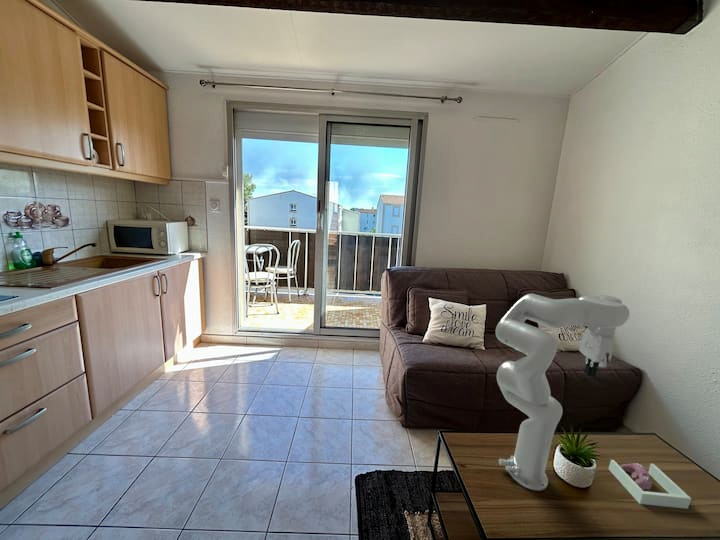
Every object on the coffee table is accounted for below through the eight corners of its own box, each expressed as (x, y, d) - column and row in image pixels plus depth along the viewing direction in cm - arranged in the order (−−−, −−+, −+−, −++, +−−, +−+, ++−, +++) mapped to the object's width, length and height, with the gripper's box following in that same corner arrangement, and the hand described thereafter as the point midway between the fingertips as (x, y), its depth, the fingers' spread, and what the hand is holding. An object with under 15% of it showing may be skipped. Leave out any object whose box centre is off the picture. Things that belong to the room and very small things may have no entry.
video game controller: (641, 498, 98) (658, 487, 96) (627, 487, 100) (644, 476, 97) (630, 475, 107) (646, 464, 104) (617, 465, 108) (633, 455, 106)
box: (639, 503, 95) (642, 493, 94) (608, 468, 107) (611, 459, 106) (687, 508, 94) (691, 498, 93) (650, 473, 107) (653, 463, 106)
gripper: (576, 320, 113) (566, 363, 117) (606, 337, 99) (593, 385, 103) (596, 322, 113) (585, 365, 117) (629, 339, 99) (615, 387, 102)
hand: (589, 374), depth 110 cm, fingers closed
